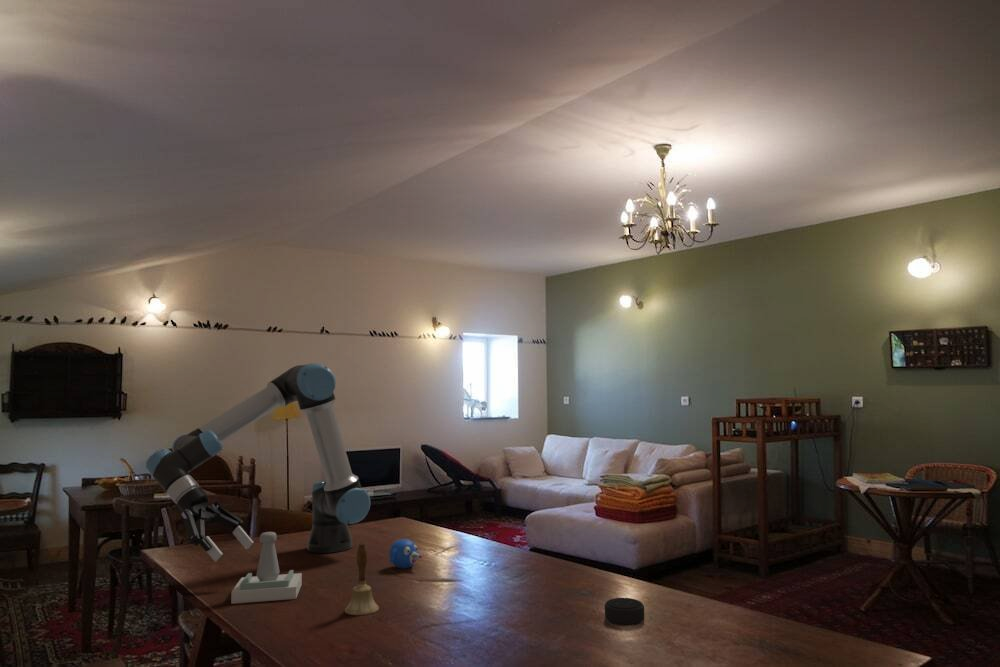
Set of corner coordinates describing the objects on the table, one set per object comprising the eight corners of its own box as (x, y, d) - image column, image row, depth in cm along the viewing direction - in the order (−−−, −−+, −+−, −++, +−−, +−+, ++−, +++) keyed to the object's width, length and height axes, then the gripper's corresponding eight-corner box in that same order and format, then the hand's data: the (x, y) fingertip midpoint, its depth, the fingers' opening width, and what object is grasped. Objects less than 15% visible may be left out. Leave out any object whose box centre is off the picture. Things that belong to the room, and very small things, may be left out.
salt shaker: (259, 579, 185) (259, 530, 186) (281, 578, 186) (281, 529, 187) (254, 585, 179) (254, 535, 180) (276, 584, 180) (276, 534, 181)
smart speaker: (651, 624, 152) (651, 606, 152) (615, 629, 149) (615, 610, 149) (633, 612, 160) (632, 595, 160) (598, 617, 157) (598, 599, 158)
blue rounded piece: (407, 575, 196) (407, 546, 197) (379, 570, 204) (379, 541, 204) (436, 566, 206) (435, 538, 207) (408, 561, 213) (407, 534, 214)
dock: (301, 584, 191) (301, 567, 191) (296, 598, 177) (296, 581, 177) (241, 588, 188) (241, 571, 188) (231, 603, 174) (231, 585, 174)
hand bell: (385, 606, 169) (384, 540, 170) (368, 617, 161) (367, 548, 162) (355, 603, 171) (355, 539, 173) (337, 614, 164) (337, 546, 165)
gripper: (209, 497, 203) (253, 550, 198) (147, 513, 179) (195, 573, 174) (224, 479, 202) (269, 532, 198) (164, 493, 178) (213, 553, 173)
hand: (235, 551), depth 186 cm, fingers open, 13 cm apart
